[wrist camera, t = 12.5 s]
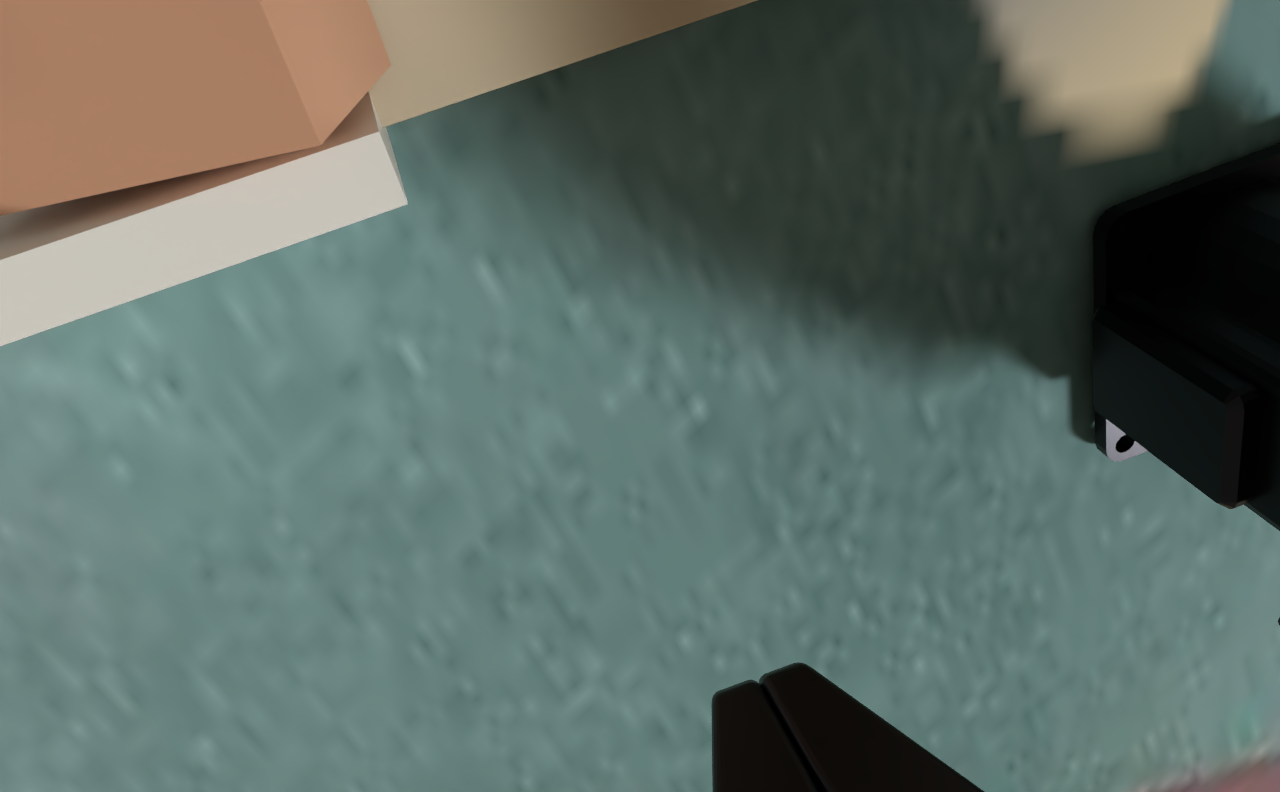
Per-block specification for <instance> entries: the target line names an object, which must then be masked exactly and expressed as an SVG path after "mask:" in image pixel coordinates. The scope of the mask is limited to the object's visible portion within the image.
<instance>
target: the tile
mask: <svg viewBox="0 0 1280 792" xmlns="http://www.w3.org/2000/svg"><path fill="white" fill-rule="evenodd" d="M390 66H391V63H390V60H389V58H388V55H387V52H386V50H385V47H384V44H383V41H382V39H381V36H380V33H379V31H378V28H377V25H376V23H375V20H374V17H373V15H372V12H371V9H370V6H369V4H368V1H367V0H0V216H1V215H6V214H11V213H15V212H20V211H24V210H29V209H33V208H38V207H42V206H47V205H52V204H56V203H61V202H65V201H70V200H74V199H79V198H83V197H88V196H93V195H97V194H102V193H106V192H111V191H115V190H120V189H124V188H129V187H134V186H138V185H143V184H147V183H152V182H156V181H161V180H165V179H170V178H175V177H179V176H184V175H188V174H193V173H197V172H202V171H206V170H211V169H216V168H220V167H225V166H229V165H234V164H238V163H243V162H247V161H252V160H257V159H261V158H266V157H270V156H275V155H279V154H284V153H288V152H293V151H298V150H302V149H307V148H311V147H316V146H320V145H322V144H323V142H324V141H325V140H326V139H327V138H328V137H329V136H330V134H331V133H332V132H333V131H334V130H335V129H336V128H337V126H338V125H339V124H340V123H341V122H342V121H343V120H344V118H345V117H346V116H347V115H348V114H349V113H350V112H351V110H352V109H353V108H354V107H355V106H356V105H357V104H358V102H359V101H360V100H361V99H362V98H363V97H364V96H365V94H366V93H367V92H368V91H369V90H370V89H371V88H372V86H373V85H374V84H375V83H376V82H377V81H378V79H379V78H380V77H381V76H382V75H383V74H384V73H385V71H386V70H387V69H388V68H389V67H390Z"/></svg>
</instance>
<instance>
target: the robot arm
mask: <svg viewBox="0 0 1280 792" xmlns="http://www.w3.org/2000/svg"><path fill="white" fill-rule="evenodd" d="M1124 224H1125V226H1124V230H1123V231H1122V232H1121V234H1120V235H1119V236H1117V232H1118V231H1119V229H1120V228H1121V226H1123V225H1124ZM1116 236H1117V237H1116ZM1093 269H1094V318H1093V321H1092V341H1093V407H1094V409H1095V443H1096V447H1097V449H1099V450H1100V451H1101V452H1102V453H1103V454H1104V455H1106V456H1107V457H1108V458H1109V459H1111V460H1112V461H1123V460H1126V459H1129V458H1131V457H1133V456H1136V455H1138V454H1141V453H1143V452H1146V451H1149V452H1150V453H1152V454H1153V455H1154V456H1155V457H1157V458H1158V459H1159V460H1161V461H1162V462H1163V463H1165V464H1166V465H1167V466H1169V467H1170V468H1171V469H1173V470H1174V471H1175V472H1177V473H1178V474H1179V475H1180V476H1182V477H1183V478H1184V479H1186V480H1187V481H1188V482H1190V483H1191V484H1192V485H1194V486H1195V487H1196V488H1198V489H1199V490H1200V491H1201V492H1203V493H1204V494H1205V495H1207V496H1208V497H1209V498H1211V499H1212V500H1213V501H1215V502H1216V503H1218V504H1220V505H1222V506H1224V507H1227V508H1229V509H1233V508H1236V507H1238V506H1241V505H1243V504H1244V505H1245V506H1247V507H1248V508H1249V509H1251V510H1252V511H1253V512H1255V513H1256V514H1257V515H1259V516H1260V517H1262V518H1263V519H1264V520H1266V521H1267V522H1268V523H1270V524H1271V525H1272V526H1274V527H1275V528H1276V529H1278V530H1279V531H1280V143H1279V144H1277V145H1274V146H1271V147H1269V148H1266V149H1263V150H1261V151H1258V152H1255V153H1253V154H1250V155H1247V156H1245V157H1242V158H1240V159H1237V160H1234V161H1232V162H1229V163H1226V164H1224V165H1221V166H1218V167H1216V168H1213V169H1210V170H1208V171H1205V172H1202V173H1200V174H1197V175H1194V176H1192V177H1189V178H1186V179H1184V180H1181V181H1179V182H1176V183H1173V184H1171V185H1168V186H1165V187H1163V188H1160V189H1157V190H1155V191H1152V192H1149V193H1147V194H1144V195H1141V196H1139V197H1136V198H1133V199H1131V200H1128V201H1125V202H1123V203H1120V204H1118V205H1115V206H1113V207H1111V208H1110V209H1108V210H1106V211H1105V212H1104V213H1103V214H1102V215H1101V216H1100V218H1099V219H1098V221H1097V223H1096V225H1095V228H1094V233H1093ZM1278 623H1279V625H1280V618H1279V620H1278ZM712 775H713V792H984V791H983V790H981V789H980V788H979V787H977V786H976V785H974V784H973V783H972V782H970V781H969V780H967V779H966V778H965V777H963V776H962V775H960V774H959V773H958V772H956V771H955V770H954V769H952V768H951V767H949V766H948V765H947V764H945V763H944V762H942V761H941V760H940V759H938V758H937V757H935V756H934V755H933V754H931V753H930V752H928V751H927V750H926V749H924V748H923V747H921V746H920V745H919V744H917V743H916V742H914V741H913V740H912V739H910V738H909V737H907V736H906V735H905V734H903V733H902V732H901V731H899V730H898V729H896V728H895V727H894V726H892V725H891V724H889V723H888V722H887V721H885V720H884V719H882V718H881V717H880V716H878V715H877V714H875V713H874V712H873V711H871V710H870V709H868V708H867V707H866V706H864V705H863V704H861V703H860V702H859V701H857V700H856V699H854V698H853V697H852V696H850V695H849V694H847V693H846V692H845V691H843V690H842V689H841V688H839V687H838V686H836V685H835V684H834V683H832V682H831V681H829V680H828V679H827V678H825V677H824V676H822V675H821V674H820V673H818V672H817V671H815V670H814V669H813V668H811V667H810V666H808V665H806V664H804V663H799V662H798V663H793V664H790V665H788V666H785V667H782V668H780V669H777V670H774V671H771V672H769V673H766V674H764V675H763V676H762V677H761V678H760V679H759V683H757V682H756V681H754V680H747V681H744V682H742V683H739V684H736V685H733V686H731V687H728V688H725V689H723V690H720V691H718V692H716V693H715V694H714V695H713V698H712Z"/></svg>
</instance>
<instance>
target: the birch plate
mask: <svg viewBox="0 0 1280 792" xmlns="http://www.w3.org/2000/svg"><path fill="white" fill-rule="evenodd" d="M367 1H368V4H369V6H370V9H371V12H372V15H373V17H374V20H375V23H376V25H377V28H378V31H379V33H380V36H381V39H382V41H383V44H384V47H385V50H386V52H387V55H388V58H389V60H390V63H391V66H390V67H389V68H388V69H387V70H386V71H385V73H384V74H383V75H382V76H381V77H380V78H379V79H378V81H377V82H376V83H375V84H374V85H373V86H372V88H371V89H370V90H369V91H368V92H369V94H370V97H371V99H372V102H373V104H374V107H375V109H376V112H377V115H378V117H379V120H380V122H381V125H382V127H386V126H389V125H392V124H395V123H398V122H401V121H404V120H407V119H410V118H413V117H415V116H418V115H421V114H424V113H427V112H430V111H433V110H436V109H439V108H442V107H445V106H448V105H451V104H454V103H457V102H460V101H463V100H466V99H469V98H471V97H474V96H477V95H480V94H483V93H486V92H489V91H492V90H495V89H498V88H501V87H504V86H507V85H510V84H513V83H516V82H519V81H522V80H525V79H527V78H530V77H533V76H536V75H539V74H542V73H545V72H548V71H551V70H554V69H557V68H560V67H563V66H566V65H569V64H572V63H575V62H578V61H581V60H583V59H586V58H589V57H592V56H595V55H598V54H601V53H604V52H607V51H610V50H613V49H616V48H619V47H622V46H625V45H628V44H631V43H634V42H637V41H640V40H642V39H645V38H648V37H651V36H654V35H657V34H660V33H663V32H666V31H669V30H672V29H675V28H678V27H681V26H684V25H687V24H690V23H693V22H696V21H698V20H701V19H704V18H707V17H710V16H713V15H716V14H719V13H722V12H725V11H728V10H731V9H734V8H737V7H740V6H743V5H746V4H749V3H752V2H754V1H757V0H367Z"/></svg>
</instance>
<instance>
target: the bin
mask: <svg viewBox="0 0 1280 792" xmlns="http://www.w3.org/2000/svg"><path fill="white" fill-rule="evenodd" d="M407 204H408V202H407V199H406V195H405V192H404V188H403V185H402V181H401V177H400V174H399V170H398V167H397V163H396V160H395V156H394V153H393V149H392V146H391V142H390V138H389V135H388V131H387V128H386V127H382V125H381V122H380V120H379V117H378V115H377V112H376V109H375V107H374V104H373V102H372V99H371V97H370V94H369V92H367V93H366V94H365V96H364V97H363V98H362V99H361V100H360V101H359V102H358V104H357V105H356V106H355V107H354V108H353V109H352V110H351V112H350V113H349V114H348V115H347V116H346V117H345V118H344V120H343V121H342V122H341V123H340V124H339V125H338V126H337V128H336V129H335V130H334V131H333V132H332V133H331V134H330V136H329V137H328V138H327V139H326V140H325V141H324V142H323V144H322V145H320V146H316V147H311V148H307V149H302V150H298V151H293V152H288V153H284V154H279V155H275V156H270V157H266V158H261V159H257V160H252V161H247V162H243V163H238V164H234V165H229V166H225V167H220V168H216V169H211V170H206V171H202V172H197V173H193V174H188V175H184V176H179V177H175V178H170V179H165V180H161V181H156V182H152V183H147V184H143V185H138V186H134V187H129V188H124V189H120V190H115V191H111V192H106V193H102V194H97V195H93V196H88V197H83V198H79V199H74V200H70V201H65V202H61V203H56V204H52V205H47V206H42V207H38V208H33V209H29V210H24V211H20V212H15V213H11V214H6V215H1V216H0V346H2V345H5V344H8V343H11V342H14V341H16V340H19V339H22V338H25V337H28V336H31V335H34V334H36V333H39V332H42V331H45V330H48V329H51V328H54V327H57V326H59V325H62V324H65V323H68V322H71V321H74V320H77V319H80V318H82V317H85V316H88V315H91V314H94V313H97V312H100V311H103V310H105V309H108V308H111V307H114V306H117V305H120V304H123V303H125V302H128V301H131V300H134V299H137V298H140V297H143V296H146V295H148V294H151V293H154V292H157V291H160V290H163V289H166V288H169V287H171V286H174V285H177V284H180V283H183V282H186V281H189V280H191V279H194V278H197V277H200V276H203V275H206V274H209V273H212V272H214V271H217V270H220V269H223V268H226V267H229V266H232V265H235V264H237V263H240V262H243V261H246V260H249V259H252V258H255V257H258V256H260V255H263V254H266V253H269V252H272V251H275V250H278V249H280V248H283V247H286V246H289V245H292V244H295V243H298V242H301V241H303V240H306V239H309V238H312V237H315V236H318V235H321V234H324V233H326V232H329V231H332V230H335V229H338V228H341V227H344V226H347V225H349V224H352V223H355V222H358V221H361V220H364V219H367V218H369V217H372V216H375V215H378V214H381V213H384V212H387V211H390V210H392V209H395V208H398V207H401V206H404V205H407Z"/></svg>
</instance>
